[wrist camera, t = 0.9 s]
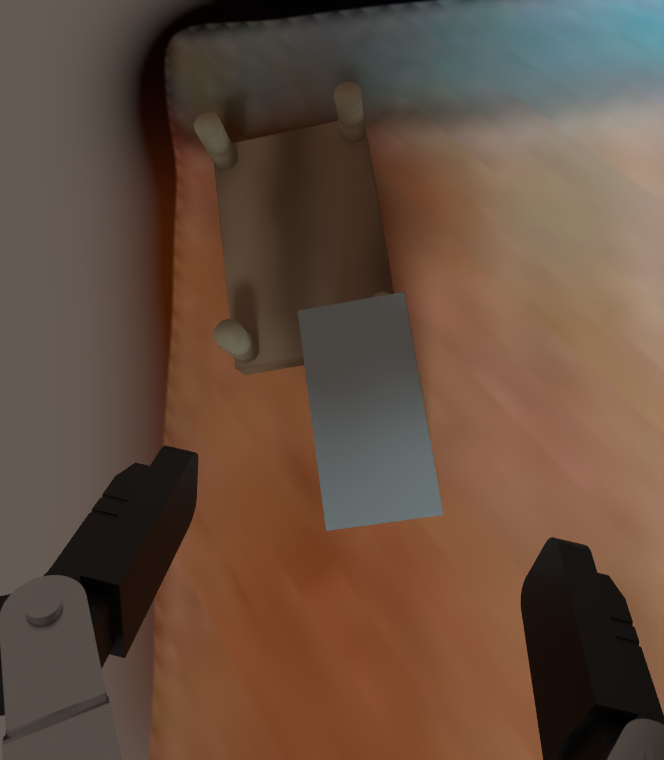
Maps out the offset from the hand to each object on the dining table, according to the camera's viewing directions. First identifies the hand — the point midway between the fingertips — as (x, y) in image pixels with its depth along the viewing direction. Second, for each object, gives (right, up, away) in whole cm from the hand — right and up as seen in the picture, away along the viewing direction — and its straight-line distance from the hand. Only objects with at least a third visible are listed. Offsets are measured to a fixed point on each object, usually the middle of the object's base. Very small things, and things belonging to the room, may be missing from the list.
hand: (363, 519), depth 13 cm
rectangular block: (+2, -1, +21) cm, 21 cm away
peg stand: (-2, +12, +24) cm, 27 cm away
